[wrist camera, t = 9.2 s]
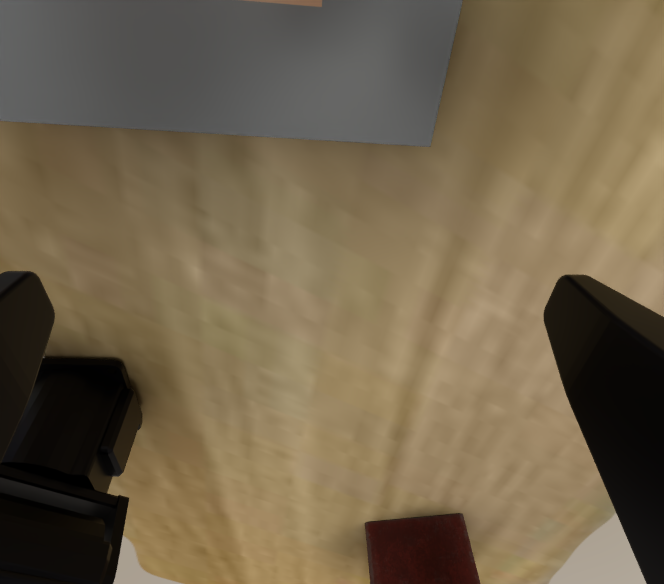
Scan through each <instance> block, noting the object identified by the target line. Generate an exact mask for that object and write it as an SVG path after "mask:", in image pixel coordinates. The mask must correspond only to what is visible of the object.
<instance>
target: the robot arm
mask: <svg viewBox="0 0 664 584" xmlns="http://www.w3.org/2000/svg"><path fill="white" fill-rule="evenodd" d="M54 319H55V313H54V308H53V306H52V304H51V302H50V299H49V297H48V295H47V293H46V291H45V289H44V287H43V284H42V282H41V280H40V278H39V277H38V276H37V275H36V274H35V273H33V272H30V271H7V272H4V273H1V274H0V584H113V582H114V579H115V574H116V570H117V565H118V559H119V554H120V548H121V542H122V536H123V531H124V525H125V519H126V513H127V508H128V502H129V498H128V497H125V496H121V495H118V496H114V495H111V494H107V491H108V488H109V485H110V483H111V480H112V477H113V476H117V477H119V476H120V475H121V474H122V473H123V472H124V469H125V466H126V463H127V460H128V457H129V454H130V451H131V448H132V445H133V442H134V439H135V436H136V433H137V430H139V429H140V428H141V425H142V419H141V418H142V412H141V409H140V406H139V403H138V400H137V397H136V394H135V392H134V391H133V389H132V388H131V386H130V383H129V380H128V377H127V374H126V371H125V368H124V366H123V364H122V363H121V362H119V361H117V360H95V359H49V358H43V356H44V353H45V349H46V346H47V343H48V340H49V337H50V334H51V331H52V327H53V324H54ZM544 323H545V327H546V330H547V333H548V337H549V340H550V343H551V347H552V350H553V354H554V357H555V360H556V364H557V367H558V370H559V374H560V377H561V380H562V383H563V386H564V389H565V392H566V395H567V398H568V400H569V403H570V405H571V408H572V410H573V412H574V415H575V417H576V419H577V422H578V424H579V426H580V429H581V431H582V433H583V436H584V438H585V440H586V443H587V445H588V448H589V450H590V452H591V455H592V457H593V459H594V462H595V464H596V466H597V469H598V471H599V473H600V476H601V478H602V480H603V483H604V485H605V487H606V490H607V492H608V494H609V497H610V499H611V501H612V504H613V506H614V508H615V511H616V513H617V515H618V517H619V520H620V522H621V525H622V527H623V529H624V532H625V534H626V536H627V539H628V541H629V543H630V546H631V548H632V550H633V553H634V555H635V558H636V560H637V562H638V564H639V566H640V569H641V572H642V574H643V576H644V578H645V581H646V583H647V584H664V317H663V316H661V315H659V314H657V313H655V312H653V311H652V310H650V309H648V308H646V307H644V306H643V305H641V304H639V303H637V302H635V301H633V300H632V299H630V298H628V297H626V296H624V295H622V294H621V293H619V292H617V291H615V290H613V289H611V288H610V287H608V286H606V285H604V284H602V283H601V282H599V281H597V280H595V279H593V278H591V277H589V276H587V275H564V276H562V277H560V278H559V279H558V281H557V283H556V285H555V287H554V289H553V292H552V294H551V296H550V298H549V300H548V303H547V305H546V307H545V310H544Z"/></svg>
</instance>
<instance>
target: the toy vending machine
mask: <svg viewBox="0 0 664 584" xmlns="http://www.w3.org/2000/svg"><path fill="white" fill-rule="evenodd" d="M365 529H366V540H367V551H368V562H369V573H370V584H480V580H479V576H478V572H477V568H476V564H475V561H474V557H473V553H472V549H471V545H470V541H469V537H468V533H467V529H466V525H465V521H464V517H463V514H450V515H439V516H428V517H417V518H406V519H395V520H385V521H374V522H367V523H365Z"/></svg>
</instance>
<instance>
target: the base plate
mask: <svg viewBox="0 0 664 584" xmlns="http://www.w3.org/2000/svg"><path fill="white" fill-rule="evenodd" d="M462 1H463V0H0V121H12V122H28V123H45V124H61V125H78V126H94V127H111V128H127V129H144V130H160V131H177V132H193V133H210V134H226V135H243V136H259V137H276V138H292V139H309V140H325V141H342V142H358V143H375V144H391V145H408V146H424V147H430V145H431V141H432V136H433V132H434V127H435V123H436V118H437V114H438V109H439V105H440V100H441V96H442V91H443V87H444V82H445V78H446V73H447V69H448V64H449V60H450V55H451V51H452V46H453V42H454V37H455V33H456V28H457V24H458V19H459V15H460V10H461V6H462Z"/></svg>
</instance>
